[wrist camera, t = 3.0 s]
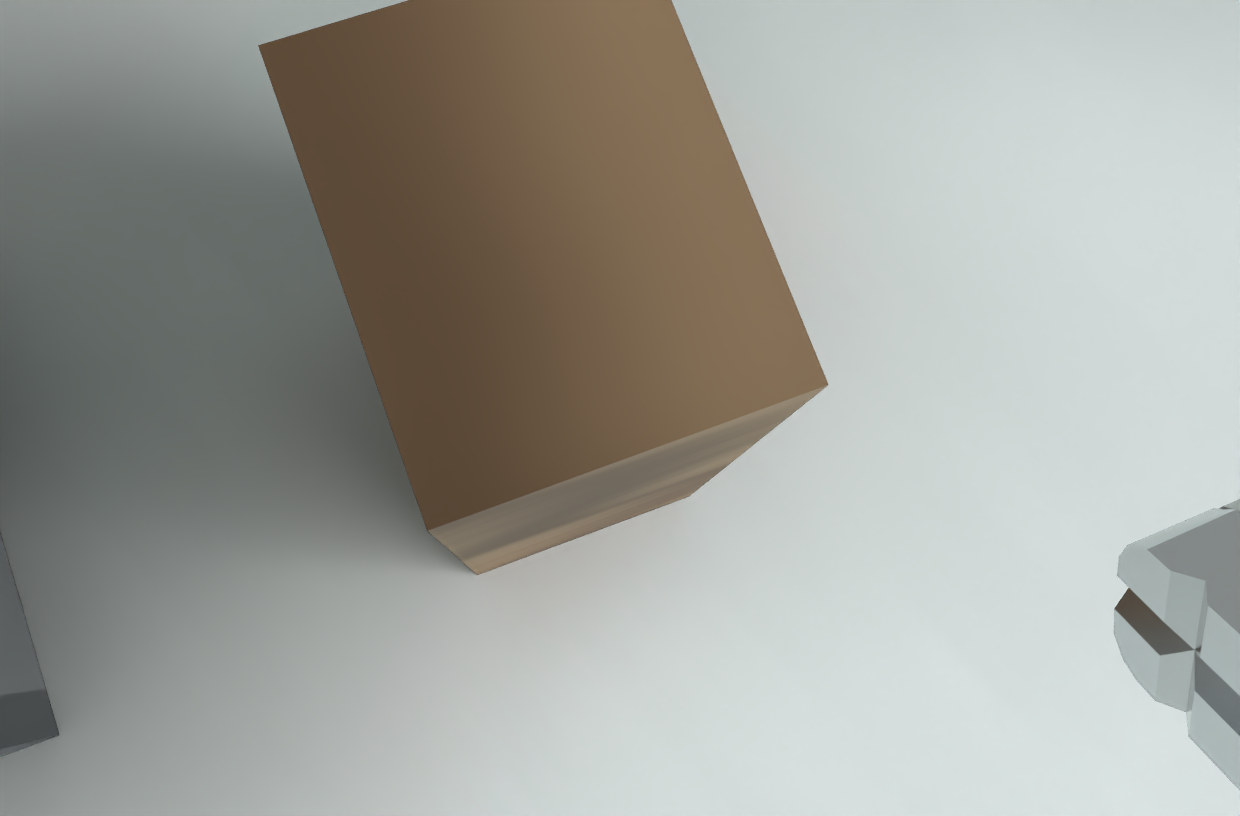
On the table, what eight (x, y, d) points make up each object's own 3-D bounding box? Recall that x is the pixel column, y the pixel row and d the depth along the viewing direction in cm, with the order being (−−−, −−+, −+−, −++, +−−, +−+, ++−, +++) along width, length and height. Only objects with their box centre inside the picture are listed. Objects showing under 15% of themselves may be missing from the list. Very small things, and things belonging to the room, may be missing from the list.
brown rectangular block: (582, 220, 22) (624, -113, 12) (688, 496, 21) (828, 384, 11) (376, 288, 21) (242, 0, 11) (477, 575, 20) (428, 530, 11)
